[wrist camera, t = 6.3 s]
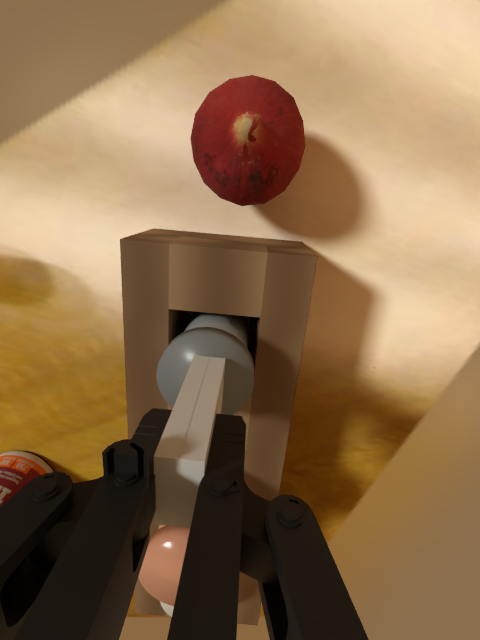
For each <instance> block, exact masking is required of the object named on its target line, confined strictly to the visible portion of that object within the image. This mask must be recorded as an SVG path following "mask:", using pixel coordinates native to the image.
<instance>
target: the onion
mask: <svg viewBox="0 0 480 640" xmlns="http://www.w3.org/2000/svg"><path fill="white" fill-rule="evenodd" d="M191 144H192V151H193V158H194V162H195V164H196V167H197V169H198V171H199V173H200V175H201V177H202V179H203V182H204V183H205V184H206V185H207V186H208V187H209V188H210V189H211V190H212V191H213V192H214V193H216V194H217V195H218V196H219V197H220V198H222V199H224V200H227V201H230V202H232V203H235V204H238V205H240V206H245V205H255V204H264V203H266V202H268V201H269V200H271V199H272V198H274V197H275V196H277V195H279V194H280V193H282V192H283V191H285V189H286V188H287V186H288V185H289V183H290V182H291V180H292V179H293V177H294V176H295V174H296V173H297V171H298V170H299V168H300V164H301V160H302V156H303V152H304V149H305V137H304V127H303V120H302V117H301V115H300V112H299V110H298V107H297V105H296V103H295V100H294V98H293V97H292V96H291V95H290V94H289V93H288V92H287V91H285V90H284V89H283V88H282V87H281V86H280V85H279V84H277V83H276V82H275V81H272V80H268V79H265V78H261V77H258V76H254V75H250V76H245V77H239V78H233V79H229V80H228V81H226V82H225V83H223V84H222V85H220V86H218V87H217V88H215V89H214V90H212V91H211V92H209V94H208V95H207V97H206V98H205V100H204V101H203V103H202V104H201V106H200V108H199V109H198V111H197V112H196V114H195V118H194V124H193V129H192V134H191Z"/></svg>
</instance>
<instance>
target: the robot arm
mask: <svg viewBox="0 0 480 640" xmlns="http://www.w3.org/2000/svg"><path fill="white" fill-rule="evenodd" d="M224 372H225V358H218V357H207V356H197V355H194V357H193V359H192V362H191V364H190V367H189V369H188V372H187V374H186V377H185V379H184V382H183V384H182V387H181V389H180V392H179V394H178V397H177V399H176V402H175V404H174V407H173V409H172V410H168V409H158V408H152V409H151V410H150V411H149V412H147V413H146V414H145V415H144V416H143V417H142V419H141V421H140V423H139V426H138V427H137V429H136V431H135V434H134V435H133V437H132V439H127V440H121V441H117V442H115V443H113V444H111V445H110V446H108V447H107V448H106V449H105V450H104V451H103V452H102V456H103V469H104V476H103V477H100V478H98V479H94V480H90V481H84V482H78V483H73V482H72V480H71V477H70V476H68V475H67V474H65V473H60V472H52V473H46V474H43V475H41V476H38V477H36V478H34V479H33V480H32V481H30V482H29V483H27V484H26V485H25V486H24V487H23V488H21V489H20V490H19V491H18V492H17V493H16V494H15V495H14V496H12V497H11V498H10V499H9V500H8V501H7V502H6V503H4V504H3V505H2V506H1V507H0V640H119V637H120V634H121V631H122V627H123V624H124V621H125V618H126V615H127V611H128V608H129V605H130V602H131V599H132V595H133V592H134V589H135V586H136V583H137V579H138V576H139V573H140V570H141V567H142V563H143V560H144V557H145V554H146V551H147V547H148V544H149V539H150V525H151V522H152V519H153V516H154V524H156V525H166V526H175V527H185V528H190V532H189V536H188V541H187V546H186V551H185V556H184V561H183V566H182V570H181V575H180V580H179V585H178V590H177V595H176V599H175V604H174V609H173V614H172V619H171V624H170V629H169V633H168V638H167V640H236V632H237V613H238V593H239V574H240V572H242V573H244V574H246V575H248V576H250V577H252V578H254V579H256V580H257V582H258V587H259V592H260V596H261V601H262V605H263V610H264V615H265V619H266V624H267V628H268V632H269V638H270V640H368V637H367V635H366V633H365V630H364V628H363V626H362V623H361V621H360V619H359V617H358V614H357V612H356V610H355V607H354V605H353V603H352V601H351V598H350V596H349V594H348V591H347V589H346V587H345V584H344V582H343V580H342V578H341V575H340V573H339V571H338V568H337V566H336V564H335V561H334V559H333V557H332V555H331V552H330V550H329V548H328V545H327V543H326V541H325V538H324V536H323V534H322V532H321V529H320V527H319V525H318V522H317V520H316V518H315V515H314V513H313V511H312V510H311V508H310V507H309V505H308V504H307V503H305V502H304V501H303V500H302V499H300V498H297V497H295V496H292V495H281V496H277V497H275V498H274V499H273V500H271V501H269V500H267V499H264V498H262V497H260V496H258V495H256V494H255V493H253V492H252V491H251V490H250V489H249V488H248V486H247V485H246V483H245V480H244V459H245V440H246V424H245V422H244V420H243V418H242V416H237V415H227V414H221V409H222V398H223V385H224Z"/></svg>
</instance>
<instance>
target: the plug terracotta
mask: <svg viewBox="0 0 480 640" xmlns="http://www.w3.org/2000/svg"><path fill="white" fill-rule="evenodd" d="M189 532H190V528H185V527H175V526H166V525H159V528H158V530H157V531H155V532H154V533H153V534H152V535H151V536H150V539H149V544H148V547H147V551H146V554H145V557H144V560H143V563H142V567H141V570H140V573H139V576H138V577H139V580H140V582H141V584H142V586H143V587H144V589H145V590H146V591H147V592H148V593H149V594H150V595H152V596H153V597H154V598H156V599H157V600H159V601H161V602H163V603H165V604H168V605H171V606H174V604H175V599H176V595H177V590H178V585H179V580H180V575H181V570H182V566H183V561H184V556H185V551H186V546H187V541H188V536H189Z"/></svg>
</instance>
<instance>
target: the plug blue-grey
mask: <svg viewBox="0 0 480 640" xmlns="http://www.w3.org/2000/svg"><path fill="white" fill-rule="evenodd" d="M248 332H249V318H248V316H238V315H227V314H217V313H206V312H194V314H193V316H192V317H191V319H190V321H189V323H188V325H187V327H186V329H185V331H184V332H183V333H181V334H179V335H178V336H176V337H175V338H174V339H173V340H172V341H171V342H170V344H169V345H168V346H167V348H166V350H165V351H164V353H163V355H162V357H161V358H160V361H159V363H158V367H157V374H156V377H157V384H158V388H159V390H160V393H161V394H162V396H163V398H164V399H165V401H166V402H167V403H168V404H169V405H170V406H171V407H172V408H173V407H174V404H175V402H176V399H177V397H178V394H179V392H180V389H181V387H182V384H183V382H184V379H185V377H186V374H187V372H188V369H189V367H190V364H191V362H192V359H193V357H194V355H197V356H207V357H218V358H225V372H224V385H223V398H222V409H221V414H227V415H234V414H235V413H237V412H238V411H239V410H241V409H242V408H243V407H244V406H245V405H246V403H247V402H248V400H249V399H250V397H251V394H252V392H253V388H254V363H253V359H252V356H251V354H250V352H249V350H248Z"/></svg>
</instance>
